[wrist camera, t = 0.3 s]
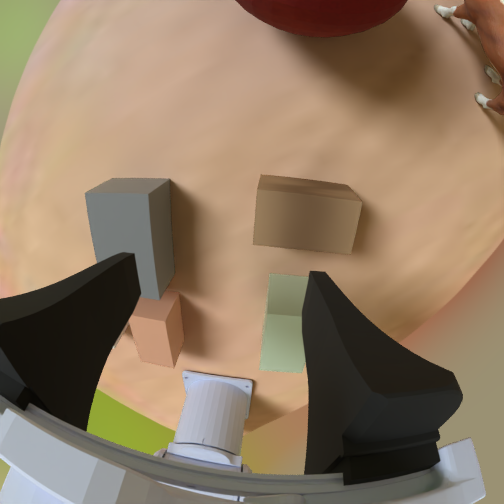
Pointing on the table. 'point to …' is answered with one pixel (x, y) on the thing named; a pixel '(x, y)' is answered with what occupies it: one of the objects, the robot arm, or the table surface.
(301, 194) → the walnut brick
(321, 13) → the apple
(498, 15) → the bull figurine
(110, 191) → the charcoal brick
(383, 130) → the table surface
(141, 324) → the terracotta brick
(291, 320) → the sage brick
